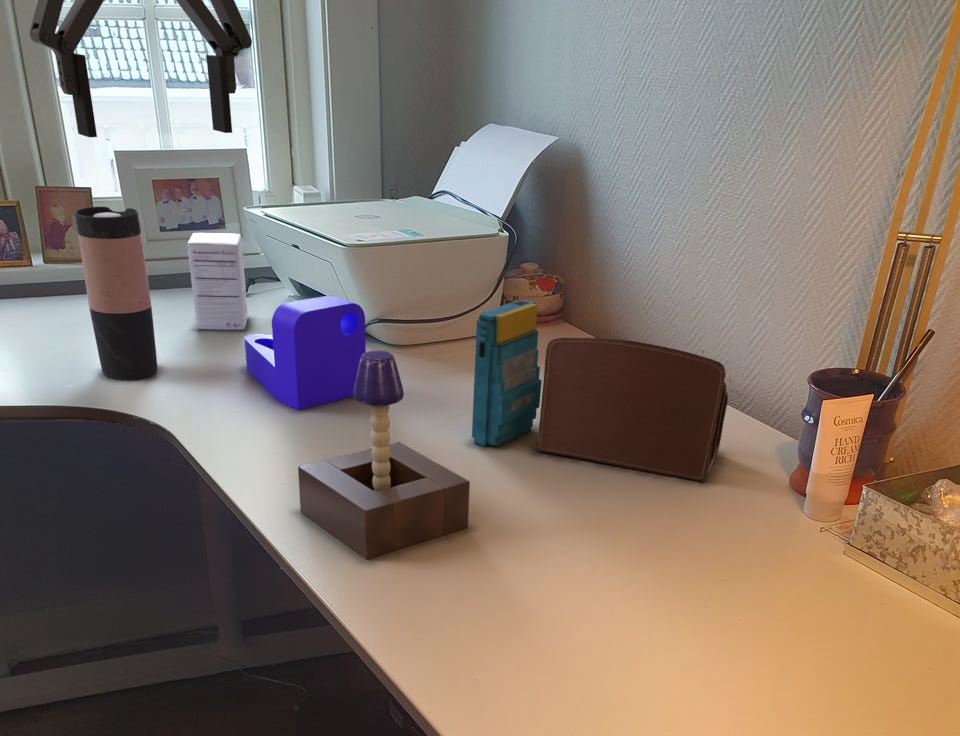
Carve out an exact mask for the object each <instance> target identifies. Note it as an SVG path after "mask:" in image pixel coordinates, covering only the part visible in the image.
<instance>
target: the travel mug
mask: <svg viewBox="0 0 960 736" xmlns="http://www.w3.org/2000/svg"><path fill="white" fill-rule="evenodd" d="M74 217H75V224H76V230H77V238H78V243H79V250H80V257H81V263H82V270H83V276H84V283H85V289H86V296H87V301H88V308H89V313H90V319H91V324H92V329H93V333H94V339H95V343H96V348H97V353H98V358H99V363H100V368H101V372H102V375H103V376H104V377H107V378H109V379H112V380H120V381H122V380H123V381H131V380H141V379H146V378H149V377H152V376H154V375H155V374H157V372H158V370H159V369H158V358H157V357H158V356H157V347H156V337H155V328H154V317H153V309H152V307H153V306H152V299H151V292H150V285H149V277H148V271H147V263H146V258H145V252H144V251H145V249H144V242H143V235H142V229H141V228H142V227H141V222H140V215H139V211H138V210H136V209H134V208H131V207H128V208H126V209H125V210H124V211H115V210H112V209H111V208H110V207H108V206H90V207H89V206H88V207H83V208H79V209H77V210H75V212H74Z"/></svg>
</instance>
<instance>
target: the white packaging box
mask: <svg viewBox="0 0 960 736" xmlns="http://www.w3.org/2000/svg"><path fill="white" fill-rule="evenodd" d="M186 245H187V253H188V260H189V270H190V280H191V289H192V299H193V306H194V307H193V308H194V314H195V323H196V329H198V330H223V331H224V330H225V331H229V330H230V331H243V330H245V329H246V325H247V321H248V317H249V312H248V300H247V291H246V290H247V288H246V279H245V267H244V266H245V265H244V254H243V253H244V252H243V243H242V235H241V233H228V232H227V233H225V232H224V233H223V232H222V233H221V232H214V233H213V232H193V233H192V235H191V236H190V237H189V240H188V241H187V244H186Z"/></svg>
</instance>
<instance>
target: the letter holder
mask: <svg viewBox="0 0 960 736" xmlns="http://www.w3.org/2000/svg"><path fill="white" fill-rule="evenodd" d="M725 381H726V369H725V366H724V364H723V363H721V362H720V361H717V360H714V359H712V358H708V357H706V356H703V355H699V354H697V353H692V352H688V351H684V350H680V349H677V348H672V347H666V346H661V345H657V344H652V343H646V342H641V341H636V340H635V341H633V340H629V339H628V340H627V339H617V338H604V337H603V338H602V337H557V338H556V337H555V338H553V339H551V340H550V341H549V342H548V344H547V346H546V350H545V359H544V373H543V384H542V393H541V401H540V402H541V403H540V404H541V405H540V413H539V423H538V424H539V425H538V426H539V427H538V437H537V443H536V445H537V452H539V453H543V454H550V455H556V456H562V457H567V458H574V459H579V460H584V461H589V462H594V463H595V462H596V463H600V464H606V465H611V466H616V467H621V468H625V469H631V470H636V471H643V472H648V473H652V474H657V475H663V476H669V477H675V478H679V479H686V480H690V481H697V482H701V483H705V482H706V480H707V478H708V476H709V473H710V471H711V469H712V467H713V464H714V463H715V460H716V458H717V455H718V453H719V450H720V445H721V440H722V434H723V428H724V422H725V417H726V412H727V407H728V403H729V393H728V391H727V383H726V382H725Z"/></svg>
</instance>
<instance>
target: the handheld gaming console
mask: <svg viewBox="0 0 960 736" xmlns="http://www.w3.org/2000/svg"><path fill="white" fill-rule="evenodd" d="M538 306H539V305H538V304H537V302H536V301H533V300H529V299H523V300H520V299H519V300H515V301H512V302H509V303H506V304H502V305H500V306H497V307H494V308H490V309H489V310H484V311H482V312H480V314H479V316H478V320H476V333H475V336H476V337H475V353H474V354H475V357H474V361H475V362H474V381H473V399H472V400H473V402H472V424H471V425H472V426H471V437H472V438H473V444H474V445H477V446H480V447H482V448H483V447H484V448H486V447H487V446H489V447H492V448H498V447H500V446H502V445H504V444H506V443H508V442H510V441H512V440H514V439H516V438H518V437H520V436H522V435H524V434H526V433H529V432H530V431H531V430H532V428H533V425H534V420H535V419H537V410H538V409H539V408H540V406H541V405H540V404H541V403H540V402H541V394H542V393H541V391H542V379H540V372H541V366H538V363H539V362H538V361H539V352H540V351H539V349H538V342H539V340H538V339H539V331H538V330H537V321H538V320H537V318H538Z"/></svg>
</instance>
